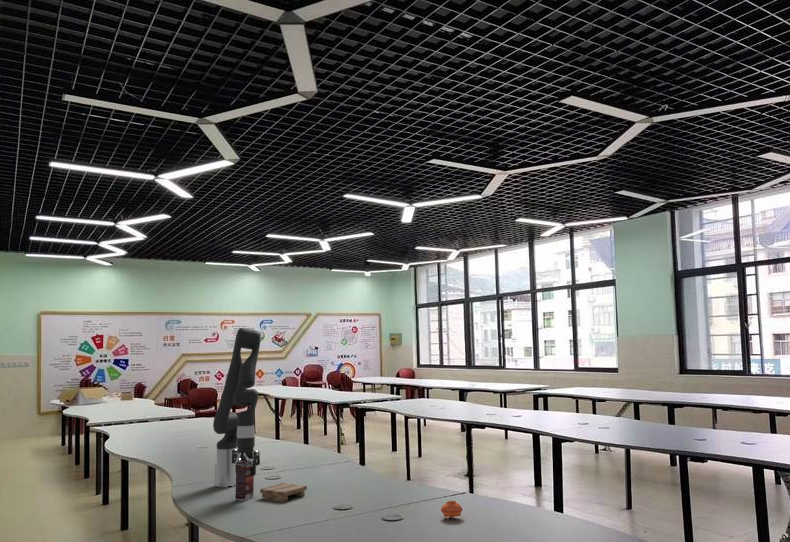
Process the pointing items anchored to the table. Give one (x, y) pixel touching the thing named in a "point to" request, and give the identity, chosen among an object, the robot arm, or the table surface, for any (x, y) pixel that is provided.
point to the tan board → (282, 491)
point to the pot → (451, 509)
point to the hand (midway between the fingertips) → (245, 474)
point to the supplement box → (244, 481)
